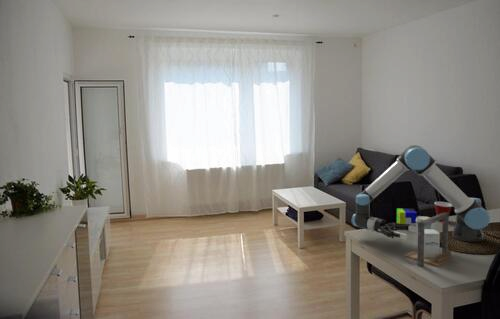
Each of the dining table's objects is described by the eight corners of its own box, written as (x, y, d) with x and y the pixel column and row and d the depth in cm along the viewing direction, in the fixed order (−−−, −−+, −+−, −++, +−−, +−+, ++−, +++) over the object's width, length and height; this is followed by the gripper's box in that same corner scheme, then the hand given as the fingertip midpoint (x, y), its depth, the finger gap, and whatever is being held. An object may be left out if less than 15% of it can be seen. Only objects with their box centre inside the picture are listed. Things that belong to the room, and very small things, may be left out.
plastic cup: (451, 224, 230) (452, 206, 229) (432, 222, 236) (433, 204, 235) (452, 219, 240) (453, 202, 238) (434, 218, 245) (434, 200, 244)
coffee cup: (416, 234, 214) (416, 215, 213) (432, 236, 210) (432, 216, 209) (414, 239, 207) (414, 219, 205) (431, 241, 203) (431, 220, 201)
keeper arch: (399, 259, 180) (400, 218, 178) (426, 246, 196) (427, 208, 193) (432, 269, 167) (432, 225, 165) (458, 255, 183) (459, 214, 180)
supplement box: (423, 258, 178) (424, 233, 177) (419, 252, 186) (419, 228, 184) (439, 258, 177) (440, 233, 176) (434, 252, 185) (435, 228, 183)
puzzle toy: (416, 228, 226) (416, 212, 225) (399, 227, 228) (399, 212, 227) (412, 223, 236) (413, 208, 235) (396, 223, 238) (396, 208, 237)
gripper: (389, 226, 211) (425, 235, 194) (363, 236, 197) (400, 247, 180) (390, 214, 210) (426, 221, 194) (363, 223, 196) (400, 232, 179)
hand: (413, 234), depth 187 cm, fingers open, 13 cm apart
